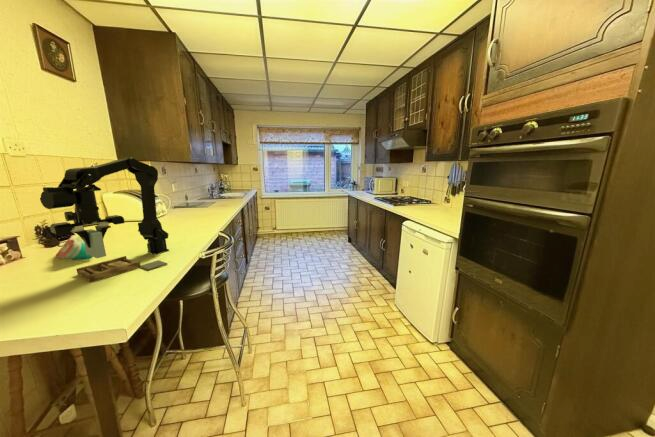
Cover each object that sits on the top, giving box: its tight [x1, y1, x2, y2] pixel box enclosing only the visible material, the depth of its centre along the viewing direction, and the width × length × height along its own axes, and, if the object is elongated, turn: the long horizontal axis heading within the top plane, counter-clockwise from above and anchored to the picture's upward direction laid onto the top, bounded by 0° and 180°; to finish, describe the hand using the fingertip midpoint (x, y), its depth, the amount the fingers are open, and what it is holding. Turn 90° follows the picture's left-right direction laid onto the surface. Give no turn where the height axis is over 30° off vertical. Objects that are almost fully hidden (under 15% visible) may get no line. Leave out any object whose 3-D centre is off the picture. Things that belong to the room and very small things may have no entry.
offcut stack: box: [108, 261, 129, 268], centre depth 98 cm, size 5×8×2 cm, turn 60°
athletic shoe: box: [55, 234, 94, 261], centre depth 111 cm, size 27×9×12 cm
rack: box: [76, 255, 141, 283], centre depth 95 cm, size 15×12×2 cm
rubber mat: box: [139, 259, 168, 271], centre depth 100 cm, size 7×7×1 cm
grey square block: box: [85, 228, 107, 259], centre depth 91 cm, size 3×9×9 cm, turn 60°
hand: (94, 246), depth 91 cm, fingers closed on grey square block, 3 cm apart
